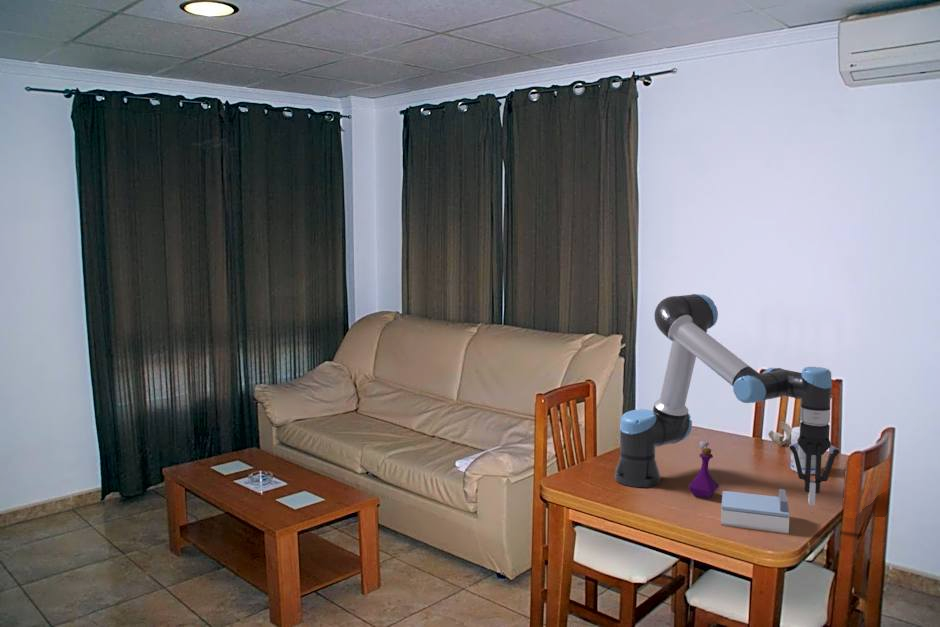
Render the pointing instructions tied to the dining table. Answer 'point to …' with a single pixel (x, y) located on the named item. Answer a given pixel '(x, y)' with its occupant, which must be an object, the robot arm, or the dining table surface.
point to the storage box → (755, 521)
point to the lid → (756, 503)
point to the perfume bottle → (704, 476)
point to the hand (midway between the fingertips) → (811, 503)
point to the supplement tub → (800, 453)
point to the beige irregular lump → (778, 437)
